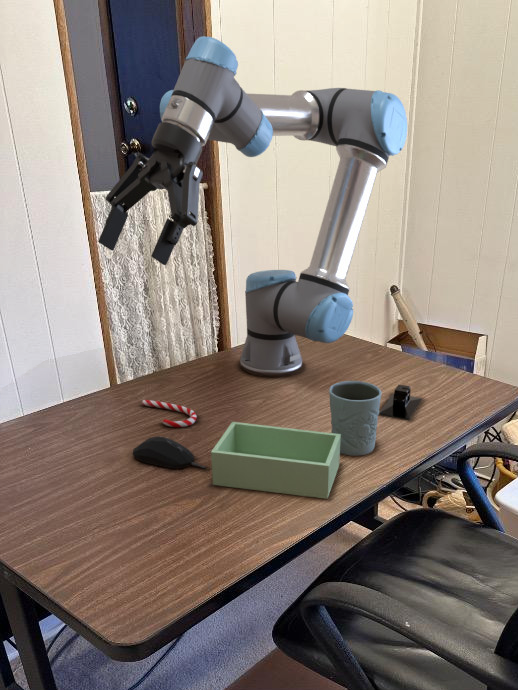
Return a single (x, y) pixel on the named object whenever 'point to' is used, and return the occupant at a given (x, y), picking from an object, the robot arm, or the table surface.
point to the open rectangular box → (276, 459)
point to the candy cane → (175, 408)
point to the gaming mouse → (164, 453)
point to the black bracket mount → (401, 404)
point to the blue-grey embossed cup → (355, 415)
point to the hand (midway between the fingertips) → (131, 253)
